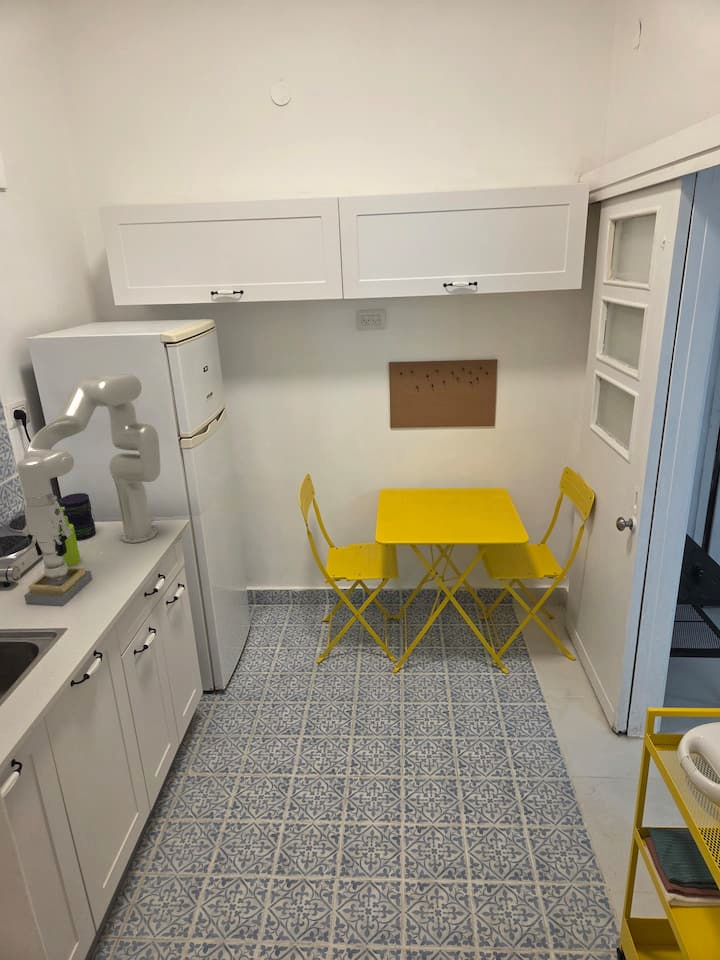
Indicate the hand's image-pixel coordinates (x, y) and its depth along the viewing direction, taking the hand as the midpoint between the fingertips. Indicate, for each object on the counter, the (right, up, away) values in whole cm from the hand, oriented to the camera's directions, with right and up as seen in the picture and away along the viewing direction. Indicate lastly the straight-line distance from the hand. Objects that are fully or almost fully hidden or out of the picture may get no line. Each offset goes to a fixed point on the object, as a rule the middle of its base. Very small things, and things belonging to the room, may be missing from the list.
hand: (52, 553), depth 189 cm
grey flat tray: (0, -12, +4) cm, 13 cm away
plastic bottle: (0, -8, +3) cm, 9 cm away
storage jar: (-10, +2, +43) cm, 44 cm away
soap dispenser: (-5, -6, +22) cm, 23 cm away
